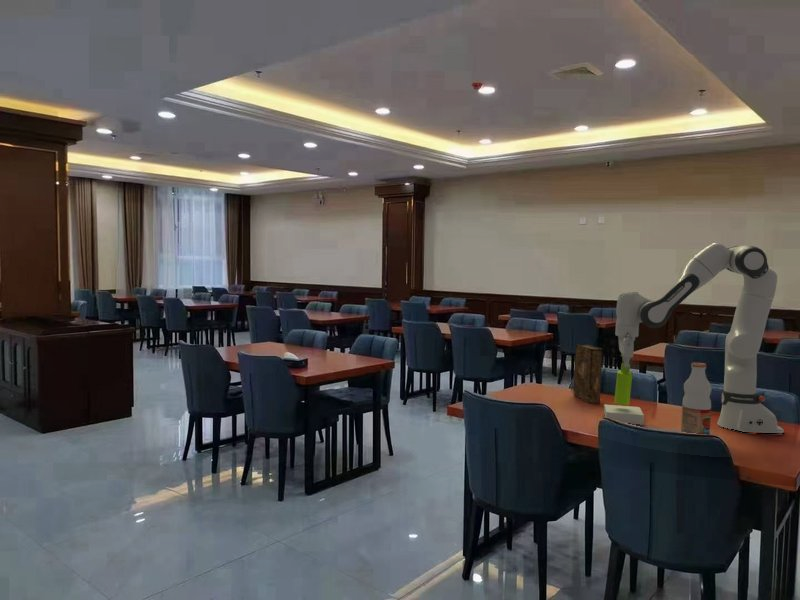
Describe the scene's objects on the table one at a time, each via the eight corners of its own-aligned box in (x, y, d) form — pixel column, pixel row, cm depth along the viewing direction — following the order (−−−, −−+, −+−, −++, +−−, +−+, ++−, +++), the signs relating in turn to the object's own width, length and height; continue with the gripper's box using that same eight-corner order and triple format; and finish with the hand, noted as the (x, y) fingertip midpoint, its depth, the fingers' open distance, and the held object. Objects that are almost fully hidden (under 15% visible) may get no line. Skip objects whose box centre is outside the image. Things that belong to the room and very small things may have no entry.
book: (601, 403, 272) (603, 349, 270) (590, 403, 271) (592, 349, 269) (584, 395, 288) (586, 344, 286) (573, 395, 287) (575, 344, 285)
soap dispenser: (624, 399, 249) (629, 353, 245) (631, 405, 243) (636, 358, 239) (610, 399, 249) (615, 353, 245) (617, 405, 242) (622, 358, 238)
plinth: (639, 416, 249) (639, 407, 248) (643, 425, 235) (643, 415, 235) (603, 413, 252) (604, 404, 252) (606, 421, 239) (606, 412, 239)
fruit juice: (680, 434, 224) (683, 360, 222) (708, 437, 220) (712, 362, 218) (681, 440, 215) (685, 364, 213) (710, 444, 211) (714, 366, 210)
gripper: (638, 335, 231) (636, 370, 232) (632, 329, 250) (631, 362, 251) (621, 334, 232) (619, 369, 233) (616, 328, 252) (615, 361, 253)
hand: (625, 365), depth 242 cm, fingers closed on soap dispenser, 4 cm apart
